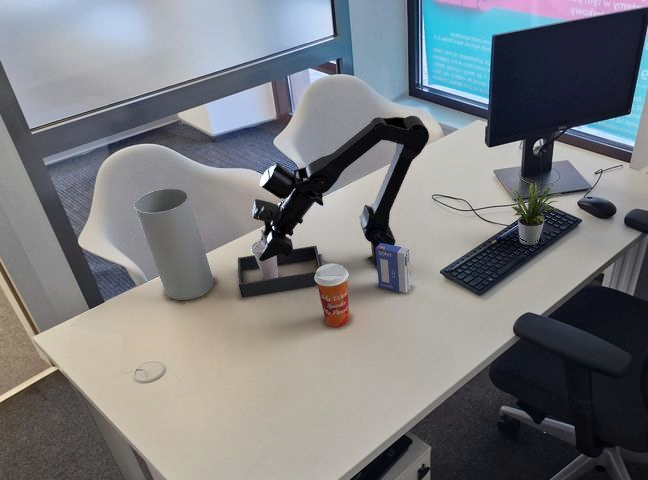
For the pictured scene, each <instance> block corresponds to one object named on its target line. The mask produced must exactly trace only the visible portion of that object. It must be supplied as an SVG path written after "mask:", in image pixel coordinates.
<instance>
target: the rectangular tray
mask: <svg viewBox="0 0 648 480" xmlns="http://www.w3.org/2000/svg"><path fill="white" fill-rule="evenodd" d="M276 257H277V266H283V265H290V264H296V263H302V262H308V261H315V260H316V264H317V269H318V268H319V267H321V266H323V265H326V263H325V261H324V256H323V254H322V253H319V250H318V245H310V246H304V247H298V248H293V252H292V254H291V255H290V256H289V257H287V256H286V255H284V254H279V255H276ZM259 269H260V267H259V265H258V262H257V260H256V258H255V255H254V254H252V255H247V256H240V257H239V256H238V257H237V279H238V280H237V281H238V288H239V292H240V295H241V299H244V298H251V297H255V296H262V295H269V294H274V293H281V292H286V291H293V290H299V289H304V288H305V289H306V288H311V287H318V286H317V282H316V281H315V279H314V277H315V274H316V271H311V272H305V273H299V274H292V275H291V274H290V275H285V276H281V277H279V276H278V278H272V279H266V280H265V279H260V280H253V281H249V282H244V272H245V271H251V270H259Z"/></svg>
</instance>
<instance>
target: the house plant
mask: <svg viewBox="0 0 648 480" xmlns="http://www.w3.org/2000/svg"><path fill="white" fill-rule="evenodd" d="M553 186H554V184H553V183H552V184H550V185H549V186H548V187H547V188H546V189H545V190H544V192H543V193H542V194H541V195H540V197H538V196H539V193H540V192H541V190H539V189H538V184H537V182H534V183H533V182H530V185H529V190H528V198H527V206H526V203H525V201H524V199H523V197H522V195H521V194H520V193H519V192H518V191H516V190H515V189H513V188H511V187H510V190H511V191H512V192H513V193H514V194H515V196H516V197H517V198H518V199H517V198H515V200H516V203H517V206H511V209H512V210H514V211H516V213H515V214H514V215H513V217H515V216H519V217H518V218H517V225H518V237H519V236H520V237H519V242H520V243H521V244H523V245H526V246H535V245H537V244H538V243H539V240H540V237H541V234H542V231H543V228H544V225H545V216H546V215H547V214H548V213H550V212H552V211H555V210H559V208H558V207H554V208H553V207H550V206H549V205H550V204H552V203H558V202H560V201H559V200H551V201H549V200H550V199H552V198H554V197H556V196H558V195H559V196H560V195H562V193H559V192H558V193H557V192H556V193H553V194H551V195H549V196H547V195H548V194H549V192H551V188H552V187H553ZM546 196H547V197H546ZM538 198H539V199H538ZM548 201H549V202H548ZM546 202H547V203H546ZM543 205H544V206H543ZM542 206H543V207H542ZM541 208H542V209H541ZM545 211H546V212H545ZM543 212H545V213H543ZM542 213H543V214H542ZM540 214H542V215H540ZM520 238H521V239H523V240H525V241H527V242H525V241H522V240H521V239H520ZM537 240H538V241H537ZM535 241H536V242H535Z"/></svg>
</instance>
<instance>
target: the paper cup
mask: <svg viewBox="0 0 648 480" xmlns="http://www.w3.org/2000/svg"><path fill="white" fill-rule="evenodd" d="M315 272H316V274H315V277H314V279H315V281H316V282H317V286H316V287H317V290H318V294H319V299H320V303H321V307H322V312H323V315H324V320H325V323H326V325H327V326H329V327H331V328H341V327H344V326H346V325H347V324H348V323H349V321H350V306H349V290H348V289H349V288H348V277H349V272H348V270H347V269H346V268H345V267H344V265H342V264H339V263H325V265H323V266H321V267H319V268H318V267H317V269H316V271H315Z"/></svg>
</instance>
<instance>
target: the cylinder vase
mask: <svg viewBox="0 0 648 480" xmlns="http://www.w3.org/2000/svg"><path fill="white" fill-rule="evenodd" d="M133 207H134V211H135V213H136V216H137V218H138V221H139V224H140V227H141V230H142V233H143V235H144V238H145V240H146V243H147V246H148V250H149V252H150V255H151V257H152V260H153V263H154V265H155V268H156V271H157V274H158V277H159V279H160V282H161V285H162V288H163V290H164V292H165V294H166V296H167V297H169V298H171V299H173V300H175V301H188V300H189V301H190V300H194V299H197V298H200V297H202V296H204V295H206V294H207V293H208V292H209V291H210V290H211V288H213V286H214V282H215V281H214V277H213V274H212V270H211V266H210V262H209V260H208V256H207V253H206V249H205V246H204V242H203V240H202V236H201V232H200V229H199V225H198V223H197V219H196V216H195V212H194V208H193V205H192V201H191V199H190V195H189V193H188V191H186V190H184V189H180V188H175V187H171V188H170V187H169V188H160V189H156V190H152V191H148V192H147V193H144V194H143V195H141V196H139V197H138V198H137V199H136V200H135V201H134V202H133Z"/></svg>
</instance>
